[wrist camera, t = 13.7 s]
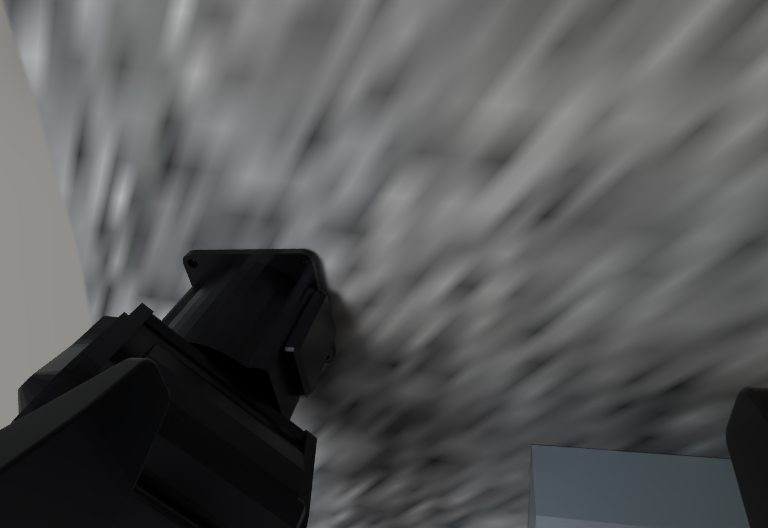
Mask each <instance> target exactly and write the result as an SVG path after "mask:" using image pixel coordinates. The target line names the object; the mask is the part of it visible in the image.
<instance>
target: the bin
mask: <svg viewBox="0 0 768 528" xmlns="http://www.w3.org/2000/svg"><path fill="white" fill-rule="evenodd" d="M528 528H750V527H749V523H748V519H747V516H746V512H745V508H744V505H743V501H742V498H741V494H740V490H739V487H738V483H737V480H736V476H735V472H734V469H733V465H732V462H731V459H719V458H706V457H693V456H679V455H666V454H652V453H639V452H625V451H612V450H598V449H585V448H572V447H558V446H545V445H531V466H530V488H529V511H528Z"/></svg>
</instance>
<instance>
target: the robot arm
mask: <svg viewBox="0 0 768 528" xmlns="http://www.w3.org/2000/svg"><path fill="white" fill-rule="evenodd" d="M299 258H303V259H305V260H306V261H307V263H303V262H302V261H300V259H299ZM192 259H194V260H195V261H196V262H197V263H195V262H194V261H193V260H192ZM183 264H184V266H185V269H186V272H187V274H188V277H189V279H190V282H191V285H192V287H191V289H190V290H189V291H188V292H187V293H186V294H185V295H184V296H183V297H182V299H181V300H180V301H179V302H178V303H177V304H176V305H175V306H174V307H173V308H172V310H171V311H170V312H169V313H168V314H167V315H166V316H165V317H164V318H163V320H162V321H161V320H160V319H158V318H157V317H156V316H154V315H153V314H152V313H153V312H154V311H152V310H151V309H150V308H148V307H147V306H146V305H145V304H143V303H141V304H140V305H139V306H138V307H137V308H136V309H135V310H134V311H133V312H132V313H131V314H130V315H128V314H126V313H125V312H124V313H123V314H121V315H120V316H119V317H110V316H103V317H102V318H101V319H100V320H99V321H98V322H97V323H96V324H94V325H93V326H92V327H91V328H90V329H89V330H88V331H87V332H86V333H85V334H84V335H83V336H82V337H80V339H78V340H77V341H76V342H75V343H74V344H73V345H71V346H70V347H69V348H68V349H66V350H65V351H64V352H62V353H61V354H60V355H58V356H57V357H56V358H54V359H53V360H52V361H50V362H49V363H48V364H46V365H45V366H44V367H42V368H41V369H40V370H38V371H37V372H36V373H34V374H33V375H32V376H31V377H30V378H29V379H28V380H27V381H26V382H25V383H24V384H23V385H22V386H21V387H20V388H19V389H18V404H19V415H18V416H17V417H16V418H15V419H14V420H13V421H12V423H11V424H10V425H8V426H6V427H5V428H3V429H1V430H0V528H306V527H307V523H308V517H309V510H310V500H311V491H312V481H313V472H314V462H315V452H316V443H317V438H316V437H315V436H314V435H312V434H311V433H310V432H308V431H307V430H305V431H303V430H302V429H301V428H299V427H298V426H297V425H295V424H294V423H293V422H292V421H290V419H291V416H292V414H293V412H294V410H295V407H296V405H297V403H298V400H299V398H300V397H308V396H309V395H310V394H311V393H312V392H313V390H314V387H315V385H316V383H317V380H318V378H319V375H320V373H321V371H322V368H323V366H324V363H330V362H332V361H333V359H334V357H335V354H336V350H335V345H334V339H335V337H336V331H335V327H334V322H333V318H332V313H331V309H330V304H329V299H328V295H327V294H326V293H325V292H324V291H322V287H321V283H320V278H319V274H318V269H317V265H316V260H315V257H314V255H313V254H312V253H311V252H310V251H308V250H306V249H246V250H192V251H190V252H188V253H187V254H186V255H185V256H184V258H183ZM726 442H727V447H728V451H729V454H730V458H731V462H732V465H733V469H734V472H735V476H736V480H737V483H738V487H739V490H740V494H741V498H742V501H743V505H744V508H745V512H746V516H747V519H748V523H749V527H750V528H768V387H750V386H749V387H744V388H742V389H741V390H740V391H739V393H738V395H737V398H736V401H735V404H734V407H733V410H732V413H731V415H730V418H729V421H728V424H727V428H726Z"/></svg>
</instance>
